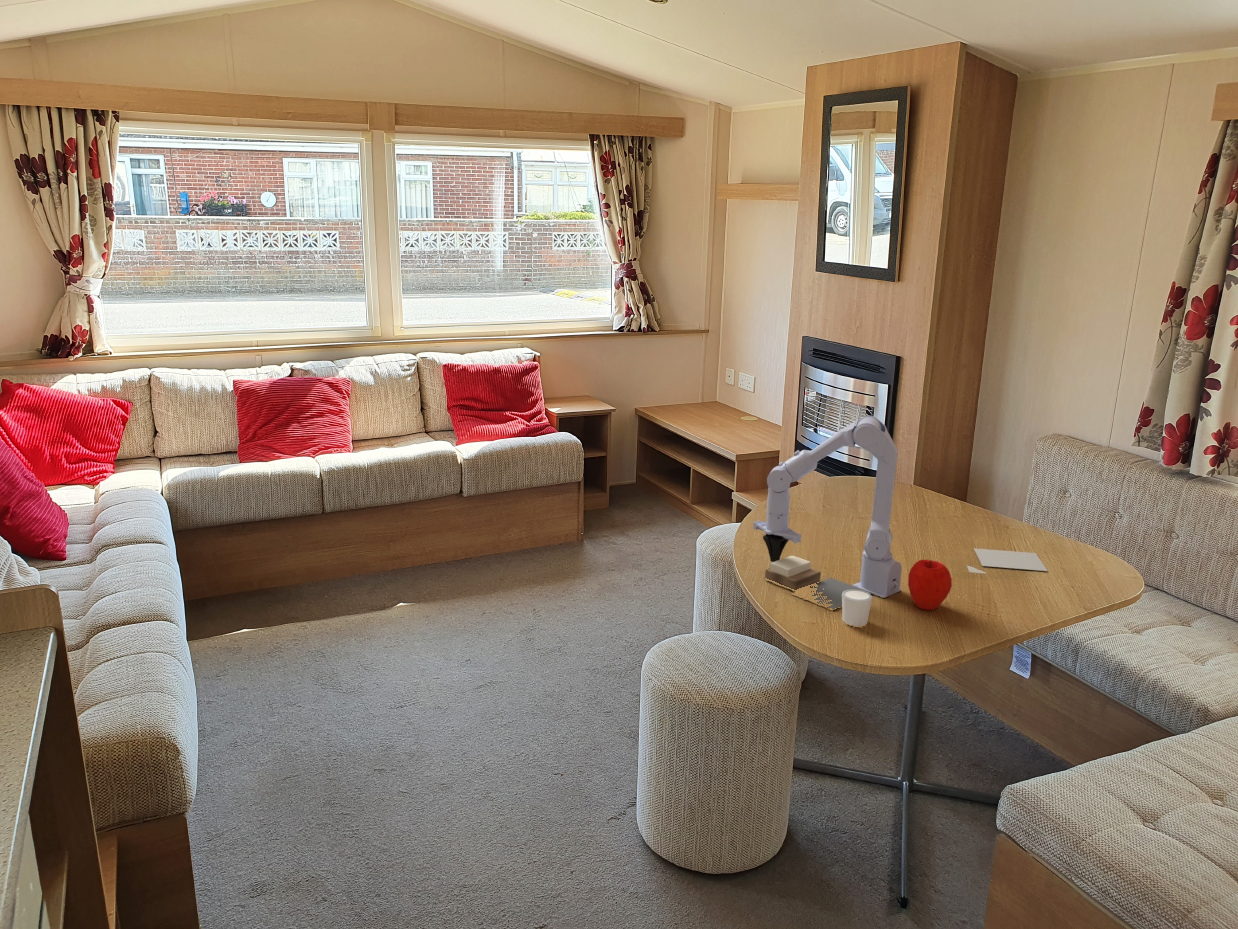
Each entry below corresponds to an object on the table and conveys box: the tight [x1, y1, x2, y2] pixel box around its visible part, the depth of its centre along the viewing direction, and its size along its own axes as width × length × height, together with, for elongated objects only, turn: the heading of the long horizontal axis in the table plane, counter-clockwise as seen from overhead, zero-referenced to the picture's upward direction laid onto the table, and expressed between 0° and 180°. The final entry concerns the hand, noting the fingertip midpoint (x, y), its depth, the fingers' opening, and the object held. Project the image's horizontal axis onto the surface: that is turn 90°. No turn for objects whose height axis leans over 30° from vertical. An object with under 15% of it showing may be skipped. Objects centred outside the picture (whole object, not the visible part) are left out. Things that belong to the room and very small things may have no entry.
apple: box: [907, 559, 953, 611], centre depth 219 cm, size 10×10×12 cm
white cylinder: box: [841, 589, 873, 626], centre depth 211 cm, size 7×7×7 cm
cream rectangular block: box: [769, 555, 812, 577], centre depth 235 cm, size 6×9×2 cm, turn 130°
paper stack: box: [966, 547, 1048, 574], centre depth 248 cm, size 23×25×1 cm
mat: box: [810, 577, 873, 609], centre depth 227 cm, size 13×16×1 cm
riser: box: [764, 567, 822, 590], centre depth 235 cm, size 10×10×3 cm
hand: (774, 561), depth 239 cm, fingers closed
